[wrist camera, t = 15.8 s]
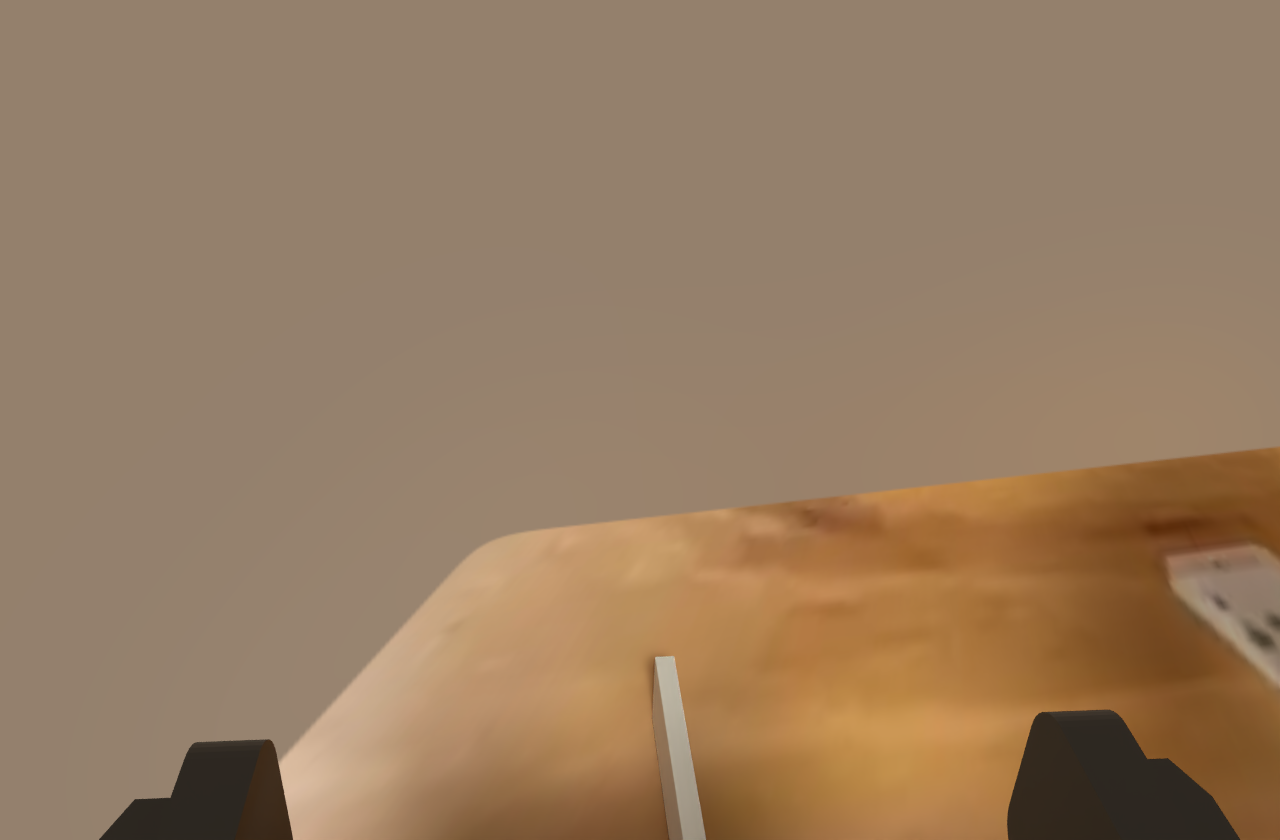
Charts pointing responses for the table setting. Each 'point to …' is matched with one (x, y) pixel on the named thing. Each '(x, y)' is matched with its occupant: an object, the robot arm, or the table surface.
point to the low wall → (675, 755)
